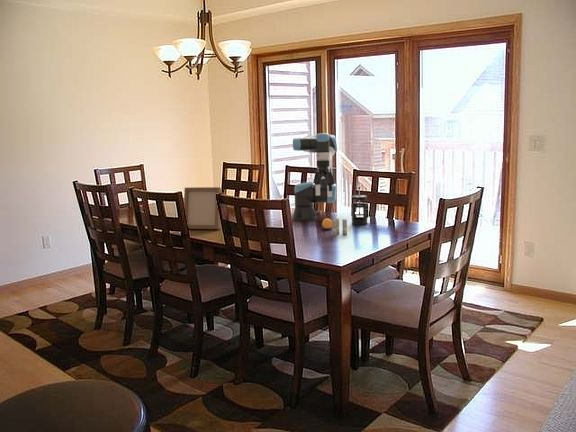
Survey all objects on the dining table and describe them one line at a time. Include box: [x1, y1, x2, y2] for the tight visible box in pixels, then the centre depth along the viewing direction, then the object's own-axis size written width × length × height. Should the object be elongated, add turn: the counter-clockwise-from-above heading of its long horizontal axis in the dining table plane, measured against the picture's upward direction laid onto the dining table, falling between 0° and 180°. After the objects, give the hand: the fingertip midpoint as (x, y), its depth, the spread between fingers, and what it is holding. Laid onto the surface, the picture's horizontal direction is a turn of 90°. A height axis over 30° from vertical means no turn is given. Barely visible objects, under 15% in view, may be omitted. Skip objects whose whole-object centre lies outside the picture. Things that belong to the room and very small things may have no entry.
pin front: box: [334, 217, 340, 235], centre depth 307 cm, size 2×2×8 cm
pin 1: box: [331, 219, 338, 237], centre depth 303 cm, size 2×2×8 cm
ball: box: [321, 218, 332, 230], centre depth 322 cm, size 6×6×6 cm
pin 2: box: [341, 218, 348, 236], centre depth 304 cm, size 2×2×8 cm
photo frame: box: [183, 186, 222, 230], centre depth 335 cm, size 15×22×25 cm
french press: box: [351, 185, 369, 226], centre depth 331 cm, size 12×9×23 cm
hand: (323, 196), depth 328 cm, fingers open, 13 cm apart
